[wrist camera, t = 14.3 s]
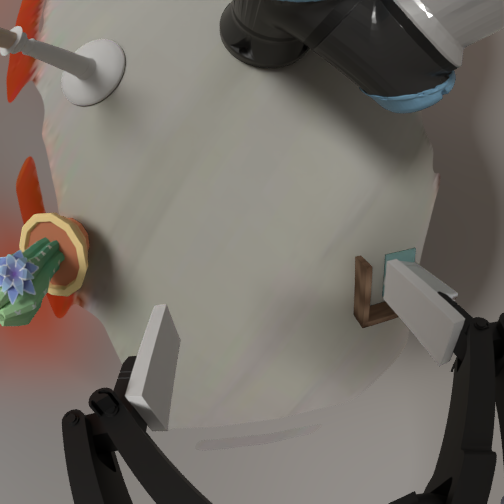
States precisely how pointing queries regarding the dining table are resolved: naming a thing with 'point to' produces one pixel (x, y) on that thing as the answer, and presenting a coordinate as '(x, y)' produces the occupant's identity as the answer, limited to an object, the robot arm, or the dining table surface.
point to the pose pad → (400, 259)
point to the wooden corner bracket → (368, 297)
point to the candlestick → (74, 64)
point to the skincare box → (430, 279)
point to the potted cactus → (42, 266)
